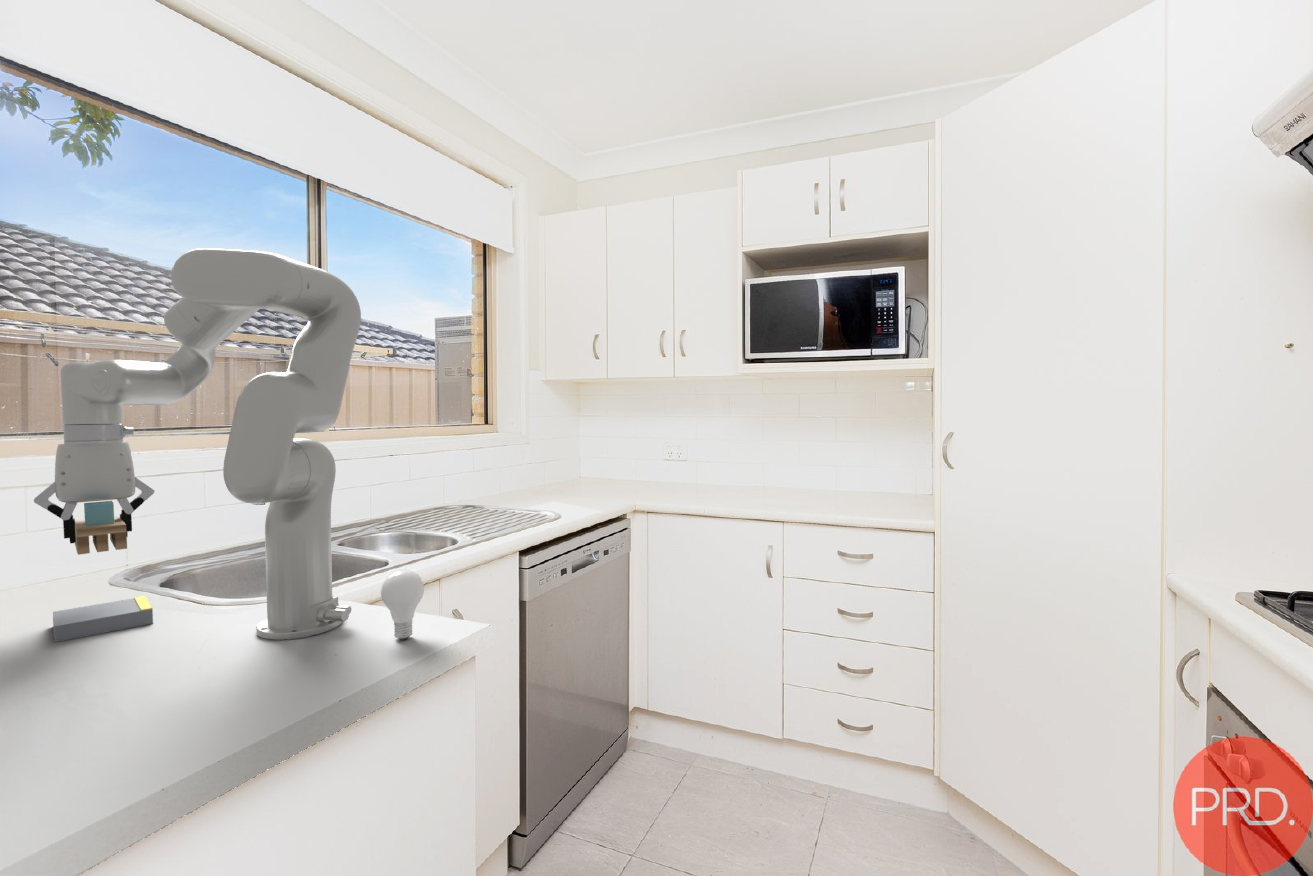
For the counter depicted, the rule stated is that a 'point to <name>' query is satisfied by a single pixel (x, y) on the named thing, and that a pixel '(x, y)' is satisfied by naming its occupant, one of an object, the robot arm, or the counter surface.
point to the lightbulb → (402, 599)
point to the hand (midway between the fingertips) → (99, 538)
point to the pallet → (100, 536)
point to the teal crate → (99, 513)
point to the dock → (101, 618)
